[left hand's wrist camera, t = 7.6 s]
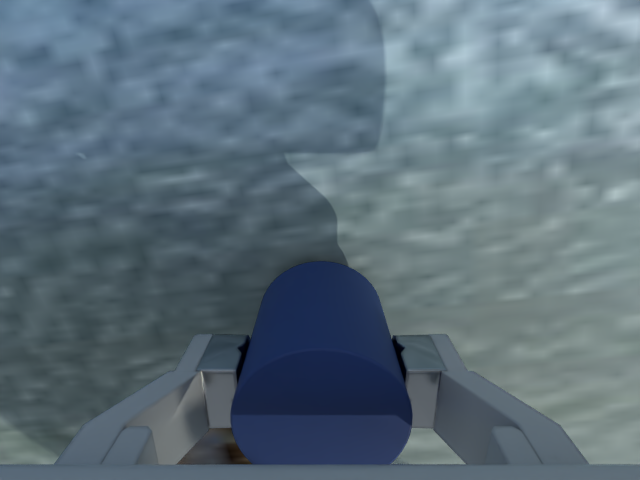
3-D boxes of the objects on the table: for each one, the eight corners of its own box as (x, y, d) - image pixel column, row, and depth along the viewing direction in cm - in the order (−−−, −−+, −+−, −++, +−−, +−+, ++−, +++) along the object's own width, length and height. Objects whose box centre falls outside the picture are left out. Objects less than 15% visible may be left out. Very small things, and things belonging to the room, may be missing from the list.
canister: (377, 366, 13) (404, 490, 9) (262, 365, 13) (235, 488, 9) (386, 261, 12) (423, 350, 8) (257, 259, 12) (222, 347, 7)
